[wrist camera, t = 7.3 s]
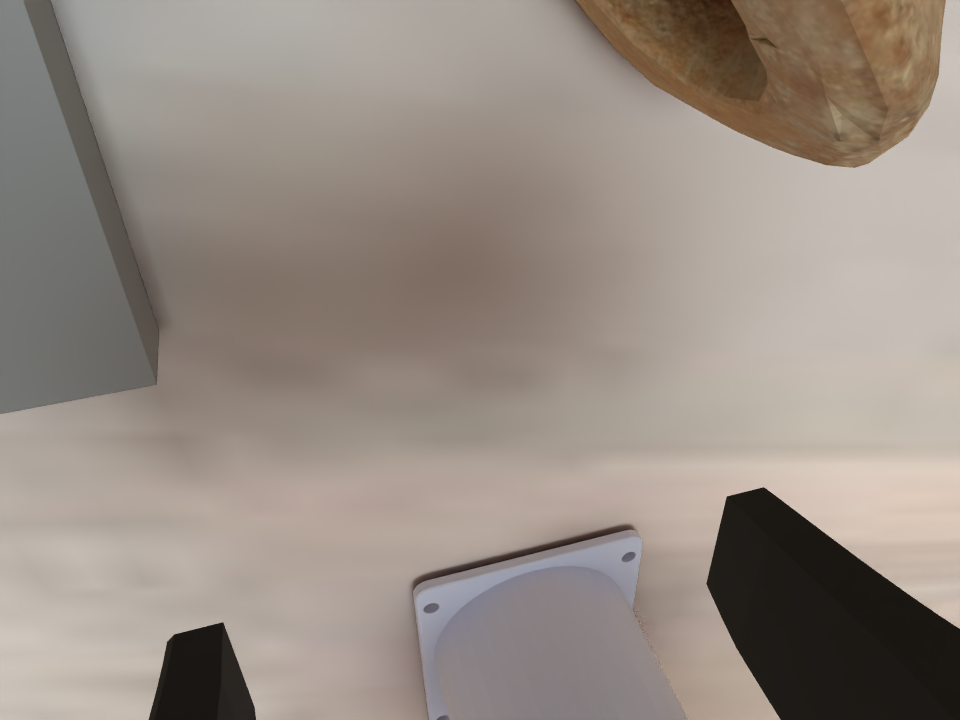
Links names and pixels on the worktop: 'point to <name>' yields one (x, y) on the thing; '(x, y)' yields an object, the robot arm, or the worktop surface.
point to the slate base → (60, 235)
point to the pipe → (789, 66)
